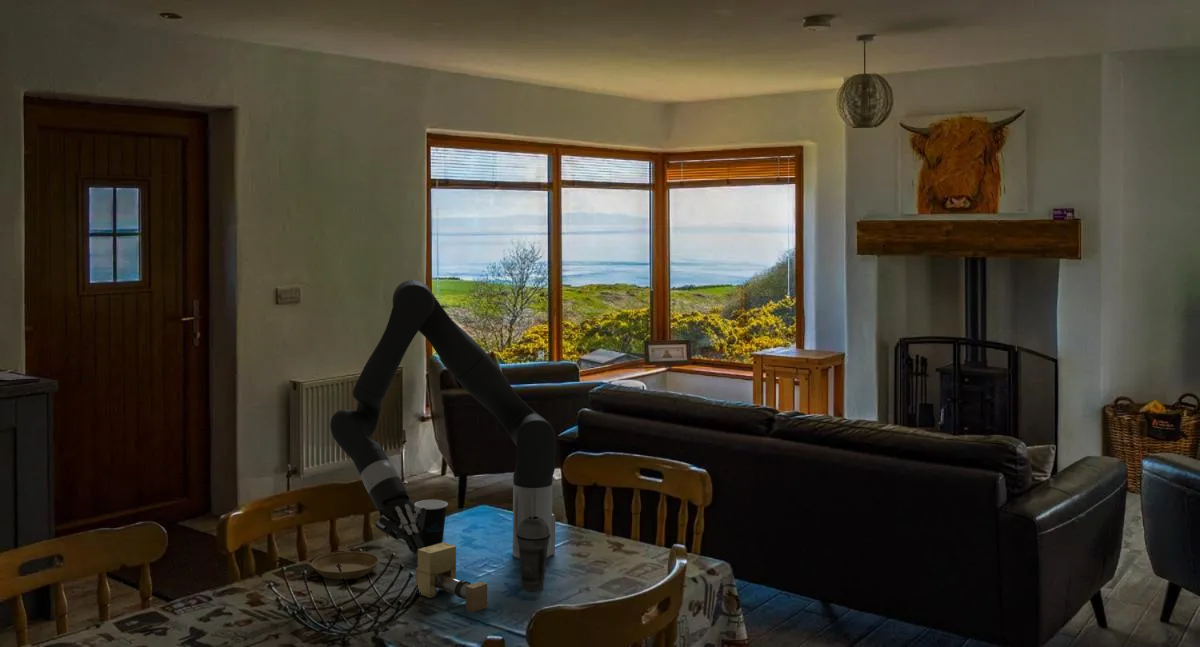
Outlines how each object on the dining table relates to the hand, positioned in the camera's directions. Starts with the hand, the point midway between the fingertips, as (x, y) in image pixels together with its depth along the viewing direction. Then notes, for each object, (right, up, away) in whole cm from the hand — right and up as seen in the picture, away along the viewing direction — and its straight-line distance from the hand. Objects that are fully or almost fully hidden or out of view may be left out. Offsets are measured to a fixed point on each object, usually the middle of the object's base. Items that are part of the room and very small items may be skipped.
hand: (419, 551), depth 232 cm
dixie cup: (-2, -5, +28) cm, 29 cm away
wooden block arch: (+4, -8, -3) cm, 10 cm away
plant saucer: (-18, -7, +10) cm, 22 cm away
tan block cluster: (+8, -9, -6) cm, 13 cm away
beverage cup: (+24, -8, +2) cm, 26 cm away
